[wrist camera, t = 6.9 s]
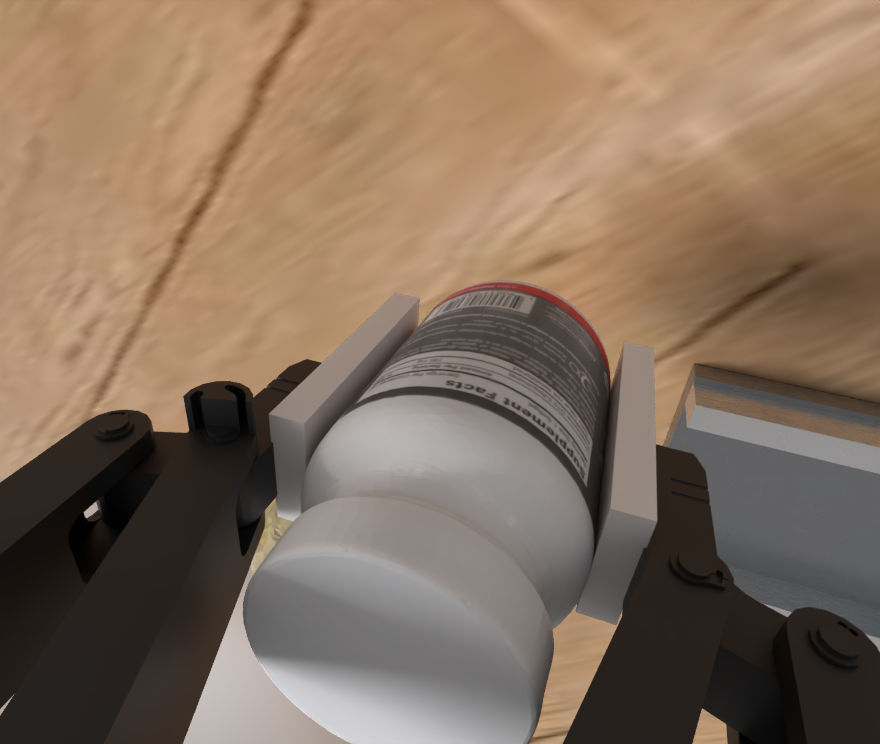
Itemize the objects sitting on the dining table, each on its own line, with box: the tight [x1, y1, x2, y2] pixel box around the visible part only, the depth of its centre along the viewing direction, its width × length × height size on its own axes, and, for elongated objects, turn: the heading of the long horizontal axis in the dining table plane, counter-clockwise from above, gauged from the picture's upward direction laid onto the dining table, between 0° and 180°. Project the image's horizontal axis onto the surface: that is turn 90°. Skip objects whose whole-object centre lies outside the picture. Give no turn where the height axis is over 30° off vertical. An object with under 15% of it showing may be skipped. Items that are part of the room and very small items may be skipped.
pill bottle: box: [243, 280, 610, 744], centre depth 12 cm, size 6×6×10 cm
